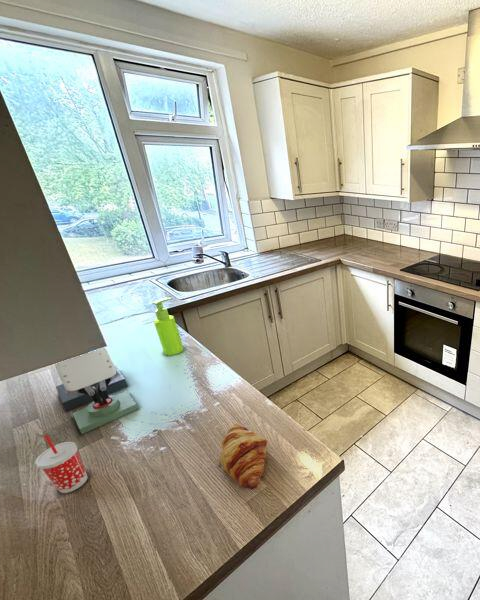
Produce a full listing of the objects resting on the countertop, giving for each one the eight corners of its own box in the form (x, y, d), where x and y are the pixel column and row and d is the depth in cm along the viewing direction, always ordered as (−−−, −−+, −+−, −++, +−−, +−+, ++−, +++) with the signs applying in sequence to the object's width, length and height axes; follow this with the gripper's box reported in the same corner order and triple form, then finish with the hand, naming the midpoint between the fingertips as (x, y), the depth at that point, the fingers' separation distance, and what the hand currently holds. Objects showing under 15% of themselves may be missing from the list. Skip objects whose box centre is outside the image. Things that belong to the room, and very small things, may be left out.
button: (97, 414, 87) (95, 409, 87) (94, 408, 89) (92, 403, 89) (114, 406, 90) (112, 401, 89) (111, 401, 92) (108, 396, 91)
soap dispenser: (189, 347, 121) (175, 298, 113) (171, 356, 116) (154, 305, 107) (179, 343, 124) (164, 295, 115) (160, 353, 118) (143, 302, 110)
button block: (81, 434, 84) (76, 424, 82) (74, 417, 89) (69, 407, 87) (138, 408, 92) (134, 398, 91) (128, 395, 97) (124, 385, 96)
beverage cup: (66, 473, 73) (38, 426, 68) (98, 468, 75) (73, 421, 69) (46, 499, 68) (14, 450, 62) (81, 493, 69) (53, 444, 63)
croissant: (226, 446, 85) (203, 432, 80) (259, 417, 88) (239, 402, 83) (246, 511, 69) (219, 498, 64) (285, 473, 72) (262, 458, 67)
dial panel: (66, 411, 91) (61, 402, 90) (59, 394, 97) (55, 385, 96) (128, 386, 101) (124, 378, 100) (118, 372, 107) (114, 364, 106)
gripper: (109, 328, 89) (132, 383, 96) (31, 352, 78) (63, 411, 86) (117, 337, 85) (140, 394, 92) (35, 364, 74) (68, 425, 82)
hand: (102, 402), depth 89 cm, fingers closed
